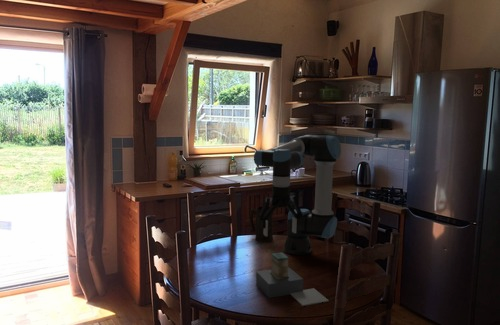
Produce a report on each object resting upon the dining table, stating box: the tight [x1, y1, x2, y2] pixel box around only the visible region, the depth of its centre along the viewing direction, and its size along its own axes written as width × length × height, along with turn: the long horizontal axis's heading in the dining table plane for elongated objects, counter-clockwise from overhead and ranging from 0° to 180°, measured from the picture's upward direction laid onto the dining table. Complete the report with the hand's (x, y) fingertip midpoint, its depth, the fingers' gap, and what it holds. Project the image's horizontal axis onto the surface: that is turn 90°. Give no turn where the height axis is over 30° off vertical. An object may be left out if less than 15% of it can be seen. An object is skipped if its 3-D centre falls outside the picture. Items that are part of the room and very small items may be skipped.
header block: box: [255, 266, 304, 299], centre depth 179 cm, size 16×14×6 cm
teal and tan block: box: [270, 252, 289, 280], centre depth 179 cm, size 5×6×15 cm
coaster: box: [290, 287, 329, 307], centre depth 171 cm, size 12×12×1 cm
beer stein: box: [248, 205, 274, 243], centre depth 245 cm, size 15×11×20 cm
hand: (279, 234), depth 176 cm, fingers open, 13 cm apart
